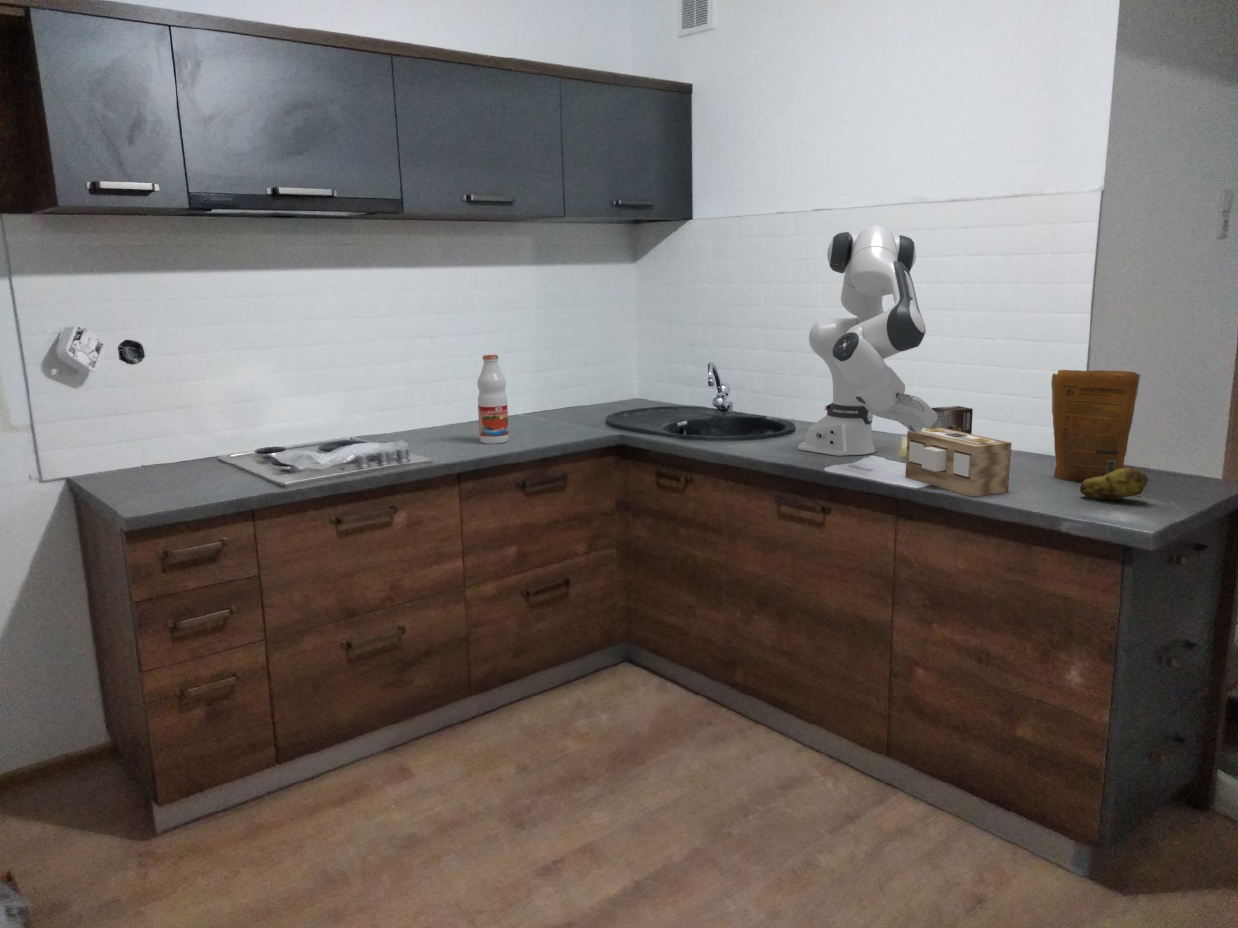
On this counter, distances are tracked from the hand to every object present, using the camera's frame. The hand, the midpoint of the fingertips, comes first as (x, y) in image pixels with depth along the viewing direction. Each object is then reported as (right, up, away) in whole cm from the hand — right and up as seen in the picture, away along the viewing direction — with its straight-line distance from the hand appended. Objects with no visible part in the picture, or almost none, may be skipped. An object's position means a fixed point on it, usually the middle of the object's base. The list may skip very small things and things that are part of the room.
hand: (916, 430), depth 212 cm
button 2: (+16, -10, +6) cm, 20 cm away
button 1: (+10, -7, +21) cm, 24 cm away
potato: (+44, -16, -3) cm, 47 cm away
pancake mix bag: (+47, -12, +15) cm, 51 cm away
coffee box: (+20, -9, +35) cm, 41 cm away
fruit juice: (-110, -1, +85) cm, 139 cm away
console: (+14, -13, +15) cm, 24 cm away
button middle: (+11, -9, +13) cm, 19 cm away
